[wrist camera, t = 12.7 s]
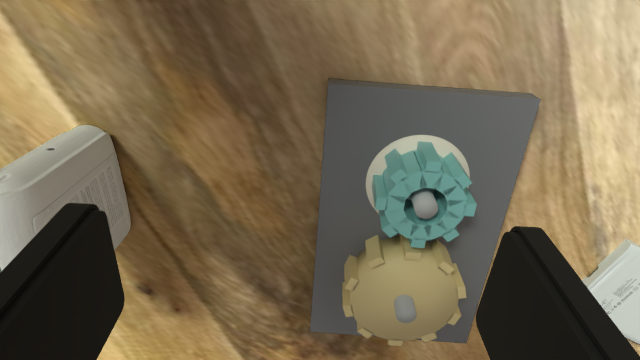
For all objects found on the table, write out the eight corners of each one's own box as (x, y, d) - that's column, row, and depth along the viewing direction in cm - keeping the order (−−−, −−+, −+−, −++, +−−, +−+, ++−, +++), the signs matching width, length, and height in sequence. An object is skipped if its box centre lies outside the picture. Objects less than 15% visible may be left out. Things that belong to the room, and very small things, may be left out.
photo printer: (60, 122, 34) (-74, 199, 23) (113, 122, 34) (4, 200, 23) (92, 230, 39) (-7, 337, 28) (138, 231, 38) (58, 339, 27)
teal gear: (377, 138, 32) (382, 158, 29) (472, 144, 32) (486, 165, 29) (367, 218, 35) (370, 244, 32) (453, 224, 35) (464, 250, 32)
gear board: (328, 78, 32) (326, 102, 26) (532, 93, 31) (571, 120, 26) (310, 319, 42) (306, 371, 37) (462, 331, 42) (479, 384, 37)
